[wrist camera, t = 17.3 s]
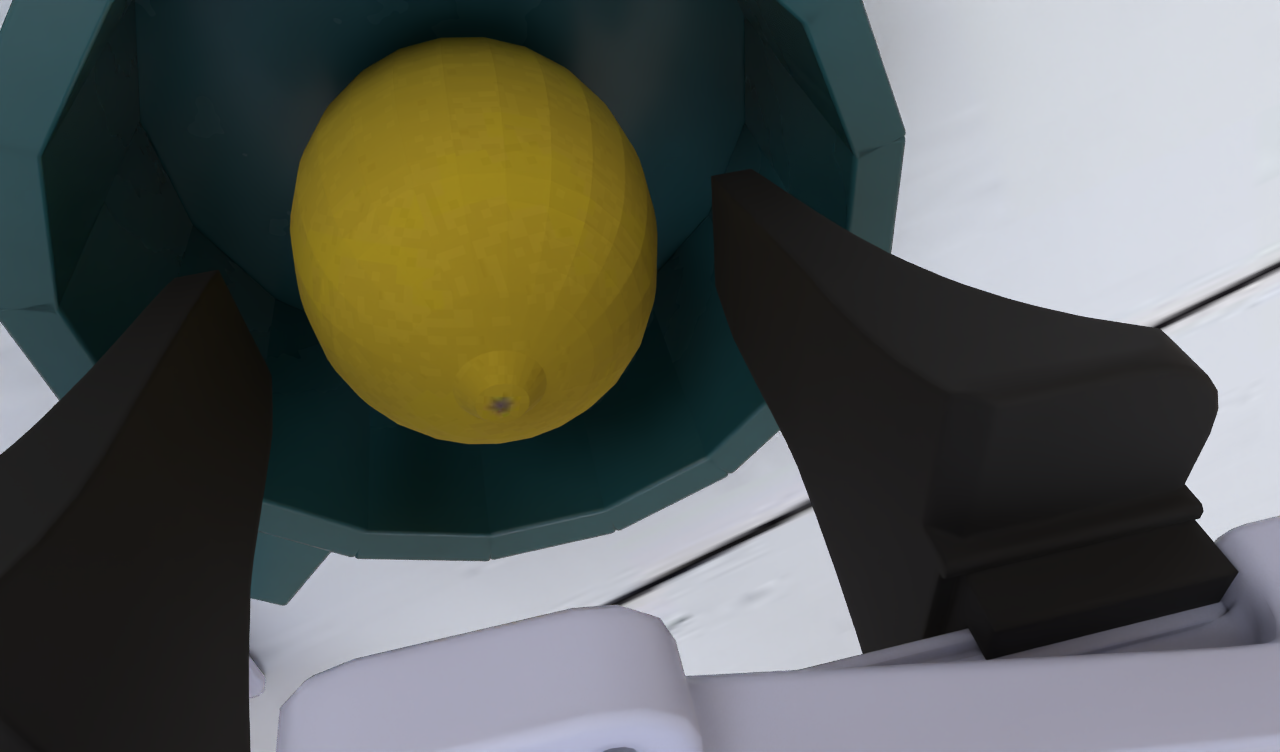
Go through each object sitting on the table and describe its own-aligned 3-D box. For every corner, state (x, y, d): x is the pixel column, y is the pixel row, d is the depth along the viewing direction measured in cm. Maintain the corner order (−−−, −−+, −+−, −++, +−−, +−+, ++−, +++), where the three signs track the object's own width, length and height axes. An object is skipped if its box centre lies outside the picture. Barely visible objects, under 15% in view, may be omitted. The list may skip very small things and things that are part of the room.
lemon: (555, -79, 15) (662, 148, 9) (636, 193, 19) (746, 473, 13) (246, 27, 15) (161, 316, 9) (387, 276, 19) (389, 591, 13)
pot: (1004, -85, 17) (1214, 36, 13) (480, 487, 25) (501, 685, 20) (418, -802, 10) (444, -1068, 6) (-61, 294, 18) (-205, 533, 13)
